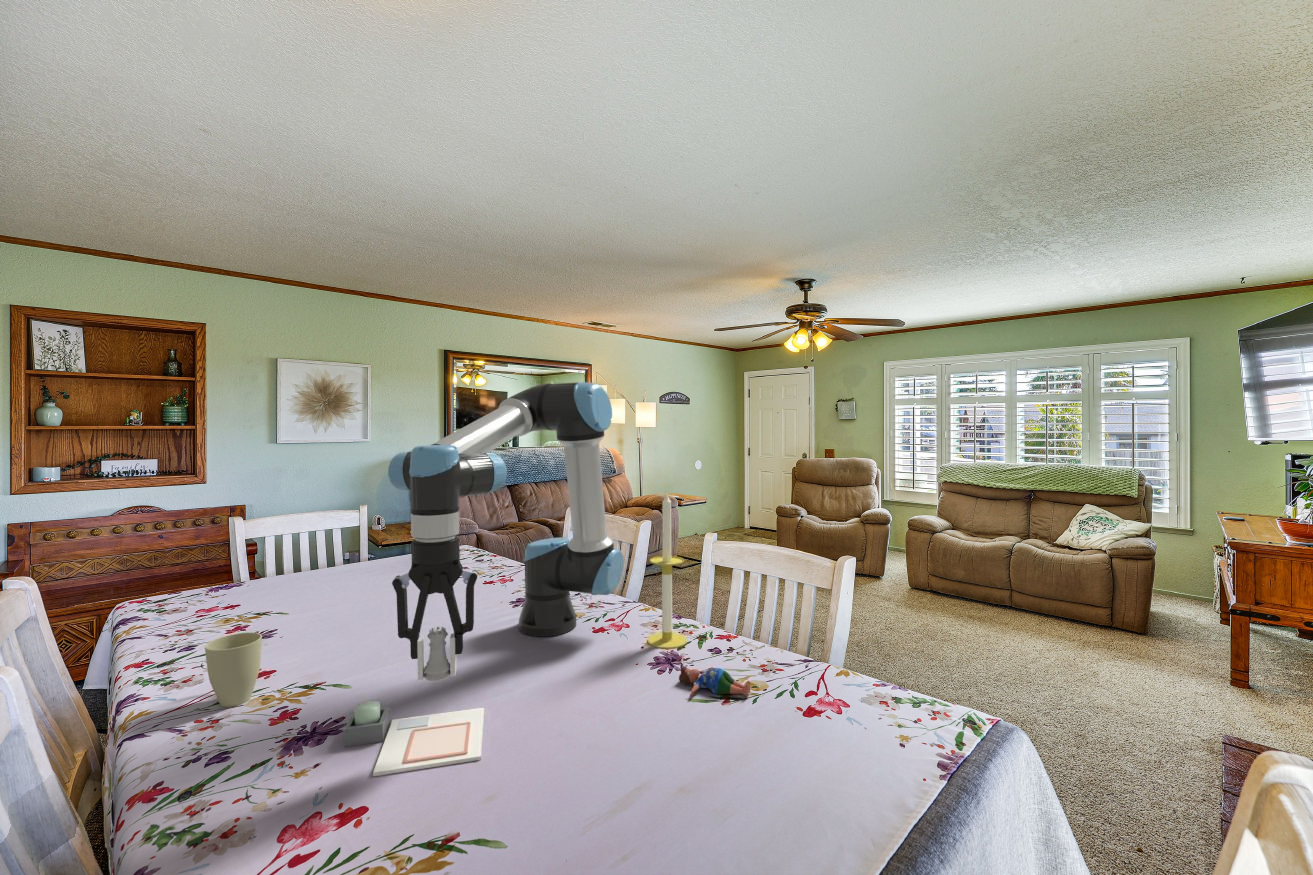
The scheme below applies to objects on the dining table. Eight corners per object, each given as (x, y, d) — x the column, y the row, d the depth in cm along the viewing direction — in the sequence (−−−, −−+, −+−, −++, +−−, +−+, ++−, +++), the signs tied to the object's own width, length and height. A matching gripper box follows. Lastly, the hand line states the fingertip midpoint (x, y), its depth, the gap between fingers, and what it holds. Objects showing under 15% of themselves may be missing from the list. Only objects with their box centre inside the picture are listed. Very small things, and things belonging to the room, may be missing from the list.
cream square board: (484, 710, 107) (484, 705, 107) (480, 759, 92) (480, 754, 92) (392, 722, 103) (392, 717, 103) (373, 776, 88) (373, 770, 88)
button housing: (389, 723, 103) (389, 706, 103) (382, 741, 97) (382, 724, 97) (353, 727, 101) (353, 711, 101) (344, 746, 96) (343, 729, 95)
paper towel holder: (695, 640, 141) (695, 490, 140) (668, 652, 134) (668, 495, 132) (665, 629, 148) (665, 487, 146) (638, 641, 140) (638, 491, 139)
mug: (278, 691, 115) (277, 633, 114) (227, 715, 106) (226, 652, 105) (241, 683, 118) (239, 627, 118) (188, 706, 109) (186, 645, 109)
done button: (382, 718, 102) (382, 699, 101) (377, 730, 98) (377, 710, 98) (357, 721, 101) (357, 702, 100) (352, 733, 97) (351, 713, 97)
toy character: (740, 689, 107) (667, 674, 113) (740, 713, 107) (667, 696, 113) (756, 662, 118) (689, 650, 124) (756, 684, 118) (689, 671, 125)
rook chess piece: (428, 670, 97) (428, 624, 97) (454, 670, 98) (454, 624, 97) (419, 682, 93) (419, 634, 93) (447, 681, 93) (447, 633, 93)
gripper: (490, 530, 100) (491, 659, 101) (383, 535, 96) (385, 671, 97) (489, 538, 93) (490, 678, 94) (373, 545, 89) (376, 691, 89)
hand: (437, 674), depth 95 cm, fingers closed on rook chess piece, 4 cm apart
